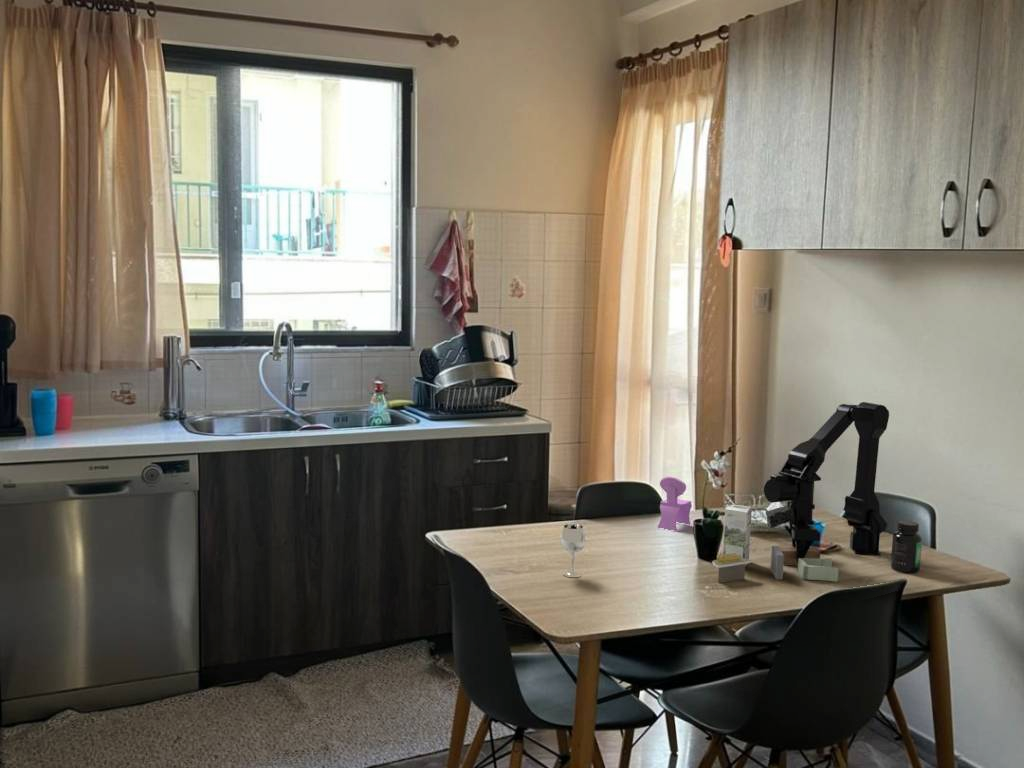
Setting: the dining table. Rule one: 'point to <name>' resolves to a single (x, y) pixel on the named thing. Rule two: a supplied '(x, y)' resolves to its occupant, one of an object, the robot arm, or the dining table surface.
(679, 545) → the dining table surface
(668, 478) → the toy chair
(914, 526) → the supplement bottle
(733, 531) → the syrup box
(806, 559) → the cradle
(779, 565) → the wall
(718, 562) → the platform
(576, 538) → the wineglass
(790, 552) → the brown rectangular block
